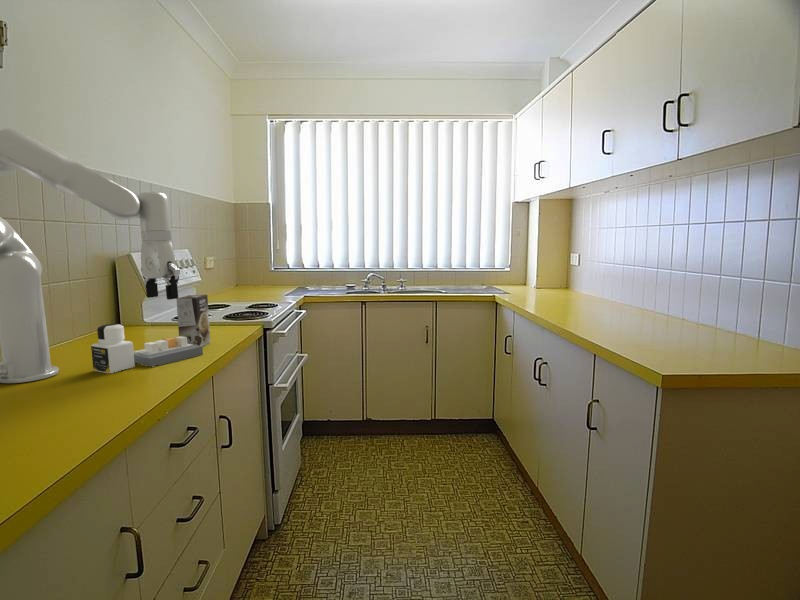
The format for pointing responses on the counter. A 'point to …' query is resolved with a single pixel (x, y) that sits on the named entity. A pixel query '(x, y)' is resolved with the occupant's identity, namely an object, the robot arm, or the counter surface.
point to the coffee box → (194, 319)
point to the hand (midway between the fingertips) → (162, 298)
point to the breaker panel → (166, 351)
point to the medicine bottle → (112, 350)
